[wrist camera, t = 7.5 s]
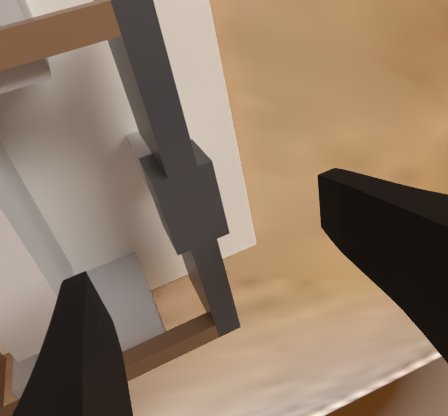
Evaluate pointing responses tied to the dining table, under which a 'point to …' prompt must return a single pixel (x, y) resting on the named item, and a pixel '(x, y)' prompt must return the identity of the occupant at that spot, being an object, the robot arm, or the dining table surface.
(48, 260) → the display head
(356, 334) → the dining table surface
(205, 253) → the glasses
